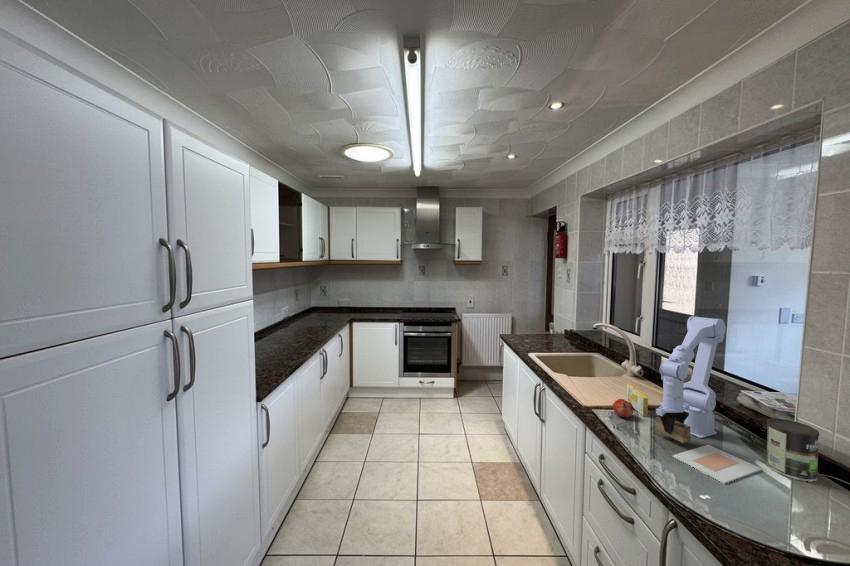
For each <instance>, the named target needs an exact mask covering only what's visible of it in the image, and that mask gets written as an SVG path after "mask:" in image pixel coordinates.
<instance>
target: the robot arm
mask: <svg viewBox="0 0 850 566" xmlns="http://www.w3.org/2000/svg"><path fill="white" fill-rule="evenodd" d="M686 322H687V323H686V329H687V333H686V335H685V337H684V339H683V341H682V343H681V345H677V346H675V348H674V349H673V352H672V353H671V354H670V355H669V357H668V359H667V360H663V361H662V362H661V363H660V366H659V373H660V376H661V377H660V379H661V381H662V385H663V386H662V387H663V388H662V390H663V393H662V402H661V401H660V403H659V404H660V406H658V407H657V408H655V414H656V415H657V416H658V417H660V419H661V421H662V423H663V427H664V430H665V432H667V433H669V434H672V432H673V426H674V422H675V420H676V421H678V422H680V423H683V424H686V425H688V426H690V427H691V436H694V437H697V438H699V439H703V438H708V437H710V436H714V435H716V434H717V433H718V432H717V431H715V414H714V412H713V411H714V410H715V408H716V404H717V403H716V397H717V396H716V395H717V394H716V392H715V391H714V390H713V389H712V388H711V387H710V386H709V380H710V378H711V371H712V367H713V363H714V360H715V355H716V354H715V353H716V351H717V346H718V344H719V343H723V341H724V338H725V333H726V324H725V321H724V320H723V318H713V317H712V318H709V317H704V316H702V317H700V316H695V315H691V316H690V317H689V318H688V319H687V321H686ZM697 346H698V348H697V351H696V352H697V353H696V356H695V352H694V349H695V348H696V347H697ZM694 357H695V361H694V365H693V370H692V374H691V378H690V381H686V382H685V381H684V380H686V378H687V377H688V374H689V368H690V367H689V365H690V363H691V362H692V360H693V358H694ZM717 435H718V434H717Z"/></svg>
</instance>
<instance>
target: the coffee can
mask: <svg viewBox="0 0 850 566" xmlns="http://www.w3.org/2000/svg"><path fill="white" fill-rule="evenodd" d="M766 420H767V421H766V424H767V434H766V435H767V437H766V438H767V439H766V441H767V442H766V466H767V467H769V469H770V470H772V471H774V472H776V473H778V474H780V475H782V476H784V477H786V478H790V479H793V480H797V481H801V482H806V481H808V482H807V483H813V481H815V482H817V481H818V468H819V467H818V465H819V464H818V462H819V439H820V438H819V436H820V432H819V431H818V430H817V429H816V428H814V427H812V426H810V425H807V424H805V423H801V422H799V421H798V422H797V421H795V420H790V419H784V418H774V417H773V418H768V419H766Z"/></svg>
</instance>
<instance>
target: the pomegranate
mask: <svg viewBox="0 0 850 566" xmlns="http://www.w3.org/2000/svg"><path fill="white" fill-rule="evenodd" d="M612 409H613V411H614V413H615V414H616V415H617V416H619V417H620V418H626V419H629V418H631V417H632V416H633V413H634V408H633V406H632V404H631V403H629V402H627V401H626V399H623V398H619V399H616V400H615V401H614V402H613V403H612Z"/></svg>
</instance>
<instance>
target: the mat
mask: <svg viewBox="0 0 850 566" xmlns="http://www.w3.org/2000/svg"><path fill="white" fill-rule="evenodd" d="M673 457H674V459H675V458H676V460H677V459H678V460H677V461H679V460H680V461H679V462H681V461H682V462H681V463H683V462H684V463H683V464H685V463H686V464H685V465H687V464H688V465H687V466H689V465H690V466H691V468H692V467H694V468H695V469H694V468H693V469H694V470H696V469H697V470H696V471H698V470H699V471H698V472H699V473H702V474H704V475H706V476H707V475H709V476H710V477H709V476H708V477H709V478H711V477H712V478H711V479H713V478H714V480H715V479H716V480H715V481H717V480H718V481H717V482H719V481H720V482H719V483H721V484H723V485H726V483H727V484H729V482H730V483H732V482H735V481H737V480H736V479H738V480H741V479H743V478H745V477H744V476H746V477H748V476H751V475H754V474H756V473H755V472H757V473H759V472H762V471H761V470H763V468H761V467H760V466H757V465H755V464H753V463H750V462H748V461H745V460H744V459H741V458H739V457H737V456H736V455H735V456H734V455H732V454H730V453H728V452H726V451H723V450H721V449H719V448H716V447H714V446H712V445H710V444H706V445H703V446H699V447H696V448H692V449H689V450H685V451H683V452H679V453H675V454H672V458H673ZM690 466H689V467H690ZM758 471H759V472H758ZM753 473H754V474H753ZM750 474H751V475H750ZM747 475H748V476H747ZM742 477H743V478H742ZM734 480H735V481H734ZM731 481H732V482H731Z"/></svg>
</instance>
